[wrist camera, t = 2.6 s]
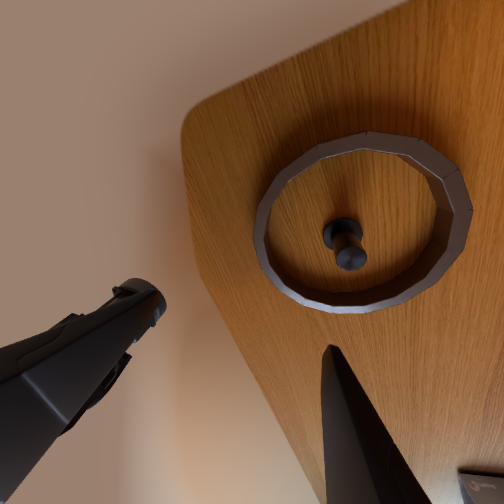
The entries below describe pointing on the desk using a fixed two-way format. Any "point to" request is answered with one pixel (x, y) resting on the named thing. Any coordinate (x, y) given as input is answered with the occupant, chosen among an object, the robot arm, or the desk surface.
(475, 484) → the hard drive
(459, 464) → the desk surface
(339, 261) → the peg stand
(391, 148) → the hoop
